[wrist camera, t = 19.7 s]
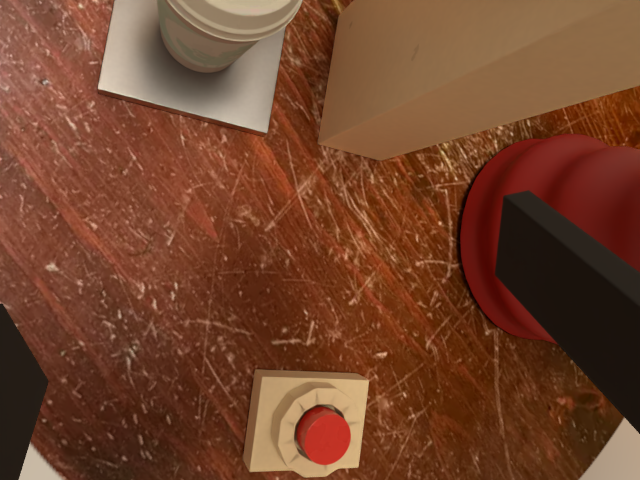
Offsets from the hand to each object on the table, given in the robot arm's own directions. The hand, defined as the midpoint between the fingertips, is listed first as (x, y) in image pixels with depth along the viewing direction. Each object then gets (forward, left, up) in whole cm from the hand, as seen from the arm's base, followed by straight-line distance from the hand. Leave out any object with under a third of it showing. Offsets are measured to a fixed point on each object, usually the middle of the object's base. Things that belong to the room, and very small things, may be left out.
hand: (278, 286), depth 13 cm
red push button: (+8, -14, -21) cm, 27 cm away
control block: (+8, -14, -25) cm, 30 cm away
